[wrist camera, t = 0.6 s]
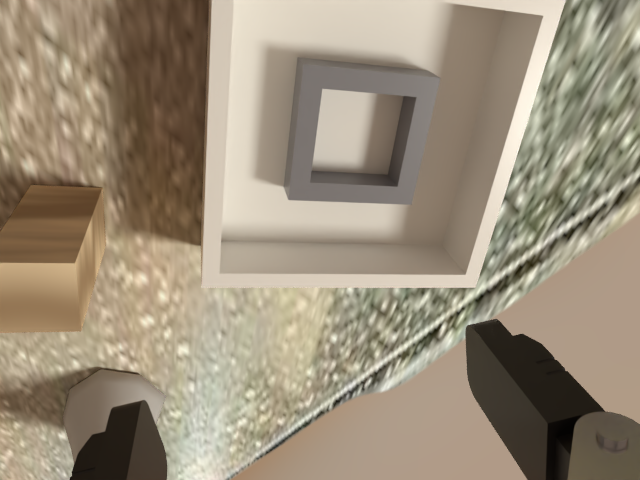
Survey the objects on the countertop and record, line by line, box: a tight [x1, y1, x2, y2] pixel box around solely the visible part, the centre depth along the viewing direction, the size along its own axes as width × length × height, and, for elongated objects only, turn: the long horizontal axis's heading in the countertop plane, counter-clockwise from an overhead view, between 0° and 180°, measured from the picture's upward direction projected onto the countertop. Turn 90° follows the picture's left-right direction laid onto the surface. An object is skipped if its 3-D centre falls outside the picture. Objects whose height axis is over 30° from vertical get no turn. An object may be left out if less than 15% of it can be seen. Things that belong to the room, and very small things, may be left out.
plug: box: [0, 185, 106, 333], centre depth 30 cm, size 4×4×9 cm
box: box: [201, 0, 565, 288], centre depth 32 cm, size 18×18×5 cm
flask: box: [63, 369, 166, 464], centre depth 37 cm, size 7×7×10 cm
